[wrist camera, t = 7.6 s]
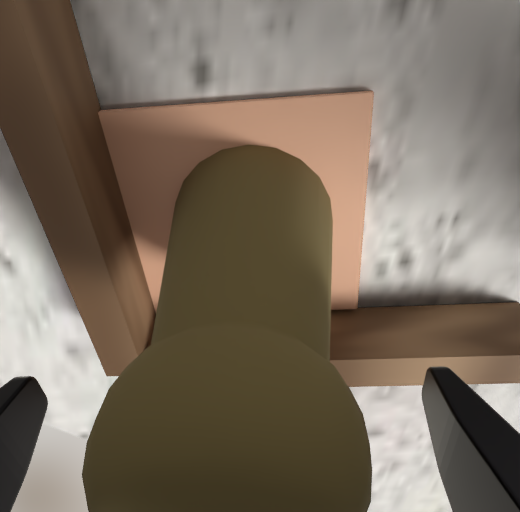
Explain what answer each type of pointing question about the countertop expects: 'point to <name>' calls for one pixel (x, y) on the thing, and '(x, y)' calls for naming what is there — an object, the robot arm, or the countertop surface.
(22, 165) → the corner arena
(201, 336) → the olive pepper mill
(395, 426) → the countertop surface
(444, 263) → the countertop surface
